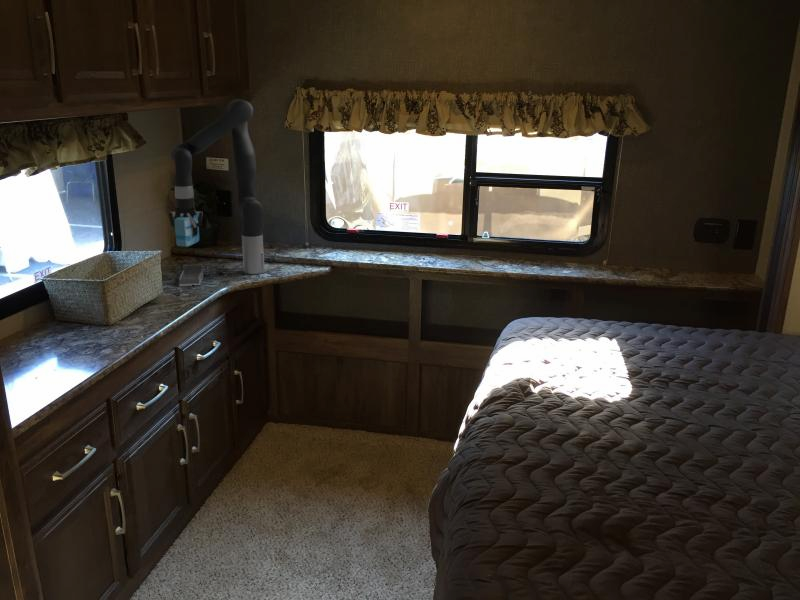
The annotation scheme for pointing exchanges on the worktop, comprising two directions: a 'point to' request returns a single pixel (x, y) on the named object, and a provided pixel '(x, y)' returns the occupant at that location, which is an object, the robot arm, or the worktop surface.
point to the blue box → (185, 231)
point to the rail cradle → (191, 275)
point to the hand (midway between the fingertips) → (187, 235)
